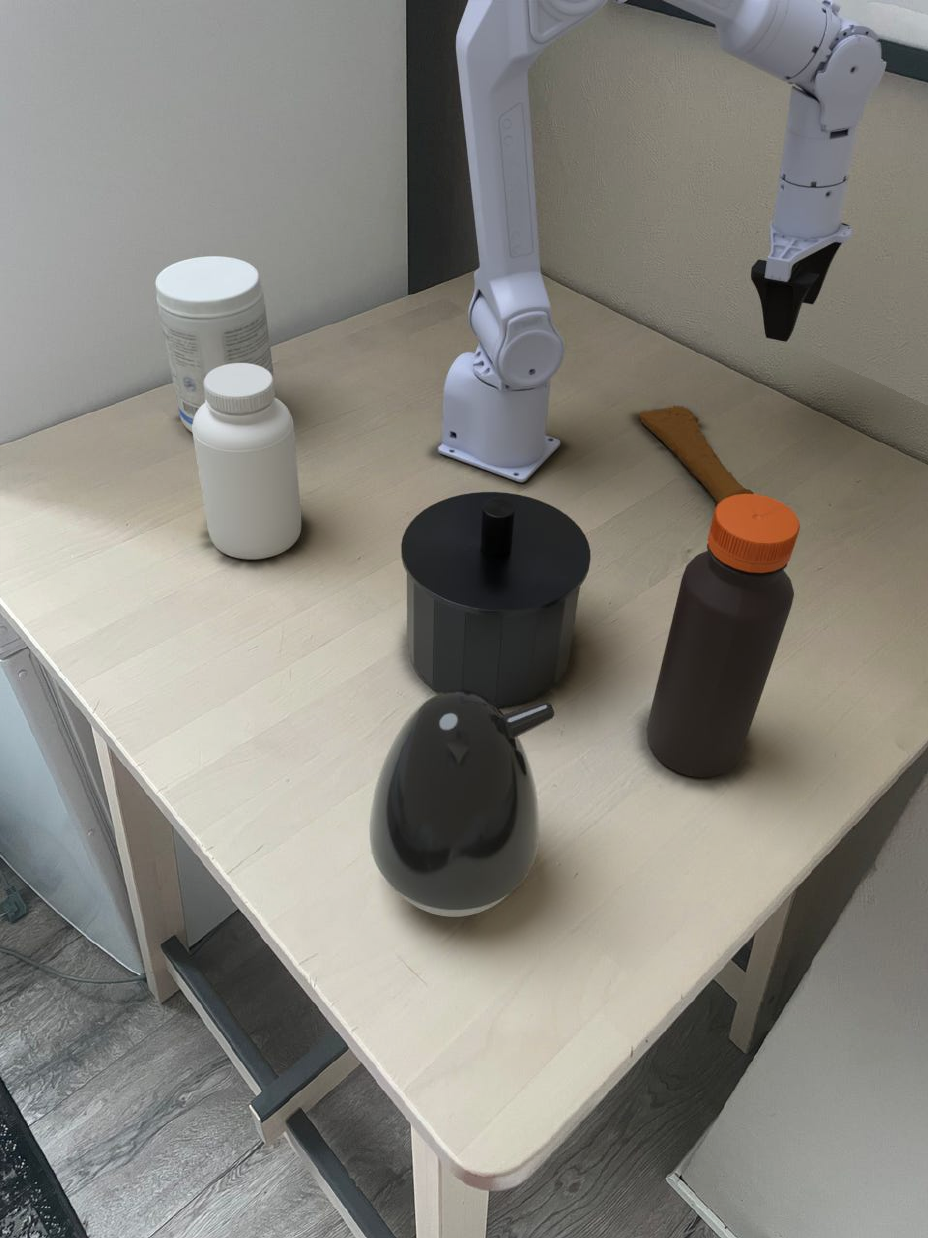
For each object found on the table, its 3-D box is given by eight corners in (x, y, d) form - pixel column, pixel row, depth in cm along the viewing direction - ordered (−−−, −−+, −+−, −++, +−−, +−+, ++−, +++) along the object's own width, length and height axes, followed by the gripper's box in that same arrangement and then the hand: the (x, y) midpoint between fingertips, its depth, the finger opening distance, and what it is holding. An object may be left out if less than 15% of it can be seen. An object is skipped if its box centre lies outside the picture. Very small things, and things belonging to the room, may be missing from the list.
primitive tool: (635, 416, 105) (641, 385, 103) (684, 410, 106) (691, 380, 104) (718, 529, 91) (726, 497, 89) (773, 521, 93) (783, 489, 90)
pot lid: (364, 577, 71) (361, 524, 68) (462, 483, 80) (464, 432, 77) (534, 650, 67) (540, 597, 64) (619, 542, 75) (628, 490, 72)
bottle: (666, 694, 76) (721, 470, 63) (754, 731, 74) (831, 507, 60) (630, 754, 72) (680, 528, 58) (722, 795, 70) (797, 569, 56)
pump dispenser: (555, 927, 62) (584, 766, 52) (385, 957, 60) (379, 797, 50) (514, 793, 69) (531, 629, 59) (360, 816, 67) (351, 651, 57)
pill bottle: (322, 533, 89) (310, 379, 79) (248, 575, 85) (226, 417, 75) (263, 494, 93) (245, 343, 83) (190, 533, 89) (161, 377, 78)
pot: (377, 665, 78) (373, 569, 71) (461, 576, 86) (464, 482, 79) (521, 732, 73) (532, 636, 67) (595, 631, 81) (611, 536, 75)
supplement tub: (274, 389, 106) (259, 251, 96) (282, 439, 100) (267, 296, 90) (178, 397, 105) (153, 257, 95) (180, 449, 98) (153, 303, 88)
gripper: (835, 214, 82) (808, 364, 92) (884, 149, 91) (855, 293, 100) (749, 201, 85) (732, 348, 95) (805, 139, 94) (784, 280, 103)
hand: (790, 319), depth 98 cm, fingers open, 7 cm apart
